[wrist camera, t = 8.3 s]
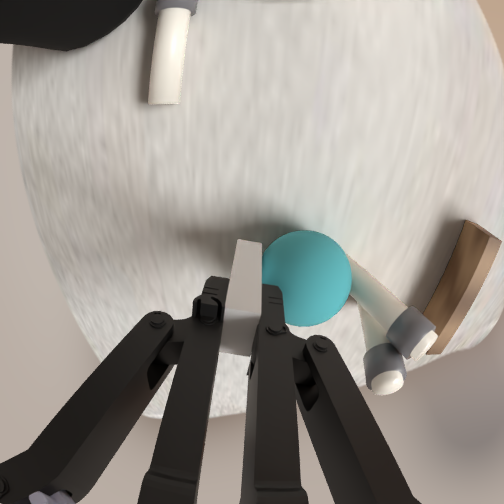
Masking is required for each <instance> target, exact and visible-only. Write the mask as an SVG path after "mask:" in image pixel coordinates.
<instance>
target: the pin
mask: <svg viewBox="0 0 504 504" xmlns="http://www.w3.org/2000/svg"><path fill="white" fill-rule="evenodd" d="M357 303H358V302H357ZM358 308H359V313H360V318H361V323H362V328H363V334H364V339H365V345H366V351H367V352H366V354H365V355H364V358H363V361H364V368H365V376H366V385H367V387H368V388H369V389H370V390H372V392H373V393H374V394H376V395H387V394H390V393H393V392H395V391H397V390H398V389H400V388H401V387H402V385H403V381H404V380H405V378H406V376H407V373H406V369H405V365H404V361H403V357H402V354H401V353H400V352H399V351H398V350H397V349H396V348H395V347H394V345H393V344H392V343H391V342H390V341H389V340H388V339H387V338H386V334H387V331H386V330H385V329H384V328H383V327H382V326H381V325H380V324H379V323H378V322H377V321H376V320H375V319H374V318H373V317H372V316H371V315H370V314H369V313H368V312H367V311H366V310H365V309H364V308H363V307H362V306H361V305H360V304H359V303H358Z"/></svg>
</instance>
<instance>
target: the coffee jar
mask: <svg viewBox="0 0 504 504" xmlns="http://www.w3.org/2000/svg"><path fill="white" fill-rule="evenodd" d="M141 2H142V0H0V43H5V44H16V45H25V46H33V47H40V48H47V49H53V50H61V51H69V50H72V49H76V48H80V47H84V46H87V45H89V44H90V43H92V42H94V41H96V40H98V39H100V38H102V37H104V36H105V35H107V34H109V33H110V32H111V31H113V30H114V29H115V28H116V27H118V26H119V25H120V24H122V23H123V22H124V21H125V20H126V19H127V18H128V17H129V16H130V15H131V14H132V13H133V12H134V11H135V10H136V9H137V8H138V6H139V5H140V3H141Z"/></svg>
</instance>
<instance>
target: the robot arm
mask: <svg viewBox="0 0 504 504" xmlns="http://www.w3.org/2000/svg"><path fill="white" fill-rule="evenodd" d="M219 352H223V353H229V354H235V355H242V356H249V357H250V355H251V360H250V364H249V368H248V372H247V375H249V376H248V392H247V408H246V424H245V425H246V426H245V440H244V456H243V470H242V471H243V472H242V486H241V499H240V503H239V504H309V503H308V496H307V493H306V491H305V490H304V489H303V488H302V486H301V479H300V457H299V440H298V424H297V411H296V401H297V403H298V406H299V409H300V412H301V414H302V417H303V420H304V422H305V425H306V428H307V430H308V433H309V436H310V438H311V441H312V444H313V447H314V449H315V452H316V455H317V457H318V460H319V462H320V465H321V468H322V471H323V473H324V476H325V478H326V481H327V484H328V486H329V489H330V492H331V494H332V497H333V500H334V502H335V504H421V503H420V502H419V501H418V500H417V499H415V498H414V497H413V495H412V493H411V491H410V489H409V487H408V484H407V482H406V480H405V478H404V476H403V475H402V472H401V470H400V468H399V466H398V464H397V462H396V460H395V458H394V456H393V454H392V452H391V450H390V448H389V446H388V444H387V442H386V440H385V438H384V436H383V435H382V433H381V430H380V428H379V426H378V425H377V423H376V421H375V419H374V417H373V415H372V413H371V411H370V410H369V407H368V406H367V404H366V402H365V400H364V398H363V396H362V394H361V392H360V391H359V389H358V387H357V385H356V383H355V381H354V379H353V377H352V376H351V374H350V372H349V370H348V368H347V366H346V364H345V363H344V361H343V359H342V357H341V355H340V354H339V352H338V350H337V348H336V346H335V345H334V343H333V342H332V341H331V340H330V339H328V338H327V337H324V336H322V335H314V336H310V337H309V338H308V339H307V340H305V339H302V338H300V337H297V336H295V335H293V334H292V333H291V332H290V331H289V328H288V326H287V325H286V324H285V315H284V305H283V293H282V291H281V289H280V288H279V287H278V286H275V285H269V284H262V243H258V242H253V241H247V240H241V239H238V240H237V245H236V250H235V255H234V261H233V266H232V271H231V276H230V279H228V278H222V277H216V276H211V277H210V278H208V279H207V280H206V282H205V285H204V288H203V291H202V295H199V296H198V297H196V298H195V299H194V300H193V309H192V316H191V317H189V318H187V319H182V320H173V318H172V317H171V316H170V315H169V314H167V313H165V312H161V311H153V312H150V313H148V314H146V315H145V316H144V317H143V318H142V319H141V320H140V321H139V322H138V323H137V324H136V325H135V327H134V328H133V329H132V330H131V331H130V332H129V333H128V334H127V335H126V336H125V337H124V338H123V339H122V341H121V342H120V343H119V344H118V345H117V346H116V347H115V348H114V349H113V350H112V352H111V353H110V354H109V355H108V356H107V357H106V358H105V359H104V360H103V362H102V363H101V364H100V365H99V366H98V367H97V368H96V369H95V371H94V372H93V373H92V374H91V375H90V376H89V377H88V378H87V380H86V381H85V382H84V383H83V384H82V385H81V387H80V388H79V389H78V390H77V391H76V392H75V393H74V395H73V396H72V397H71V398H70V399H69V401H68V402H67V403H66V404H65V405H64V406H63V407H62V409H61V410H60V411H59V412H58V413H57V415H56V416H55V417H54V418H53V419H52V421H51V422H50V423H49V424H48V425H47V427H46V428H45V429H44V430H43V431H42V433H41V434H40V436H38V438H37V439H36V440H35V441H34V443H33V444H32V445H31V446H30V448H29V449H28V450H26V451H25V452H22V453H20V454H19V455H17V456H15V457H13V458H11V459H9V460H7V461H5V462H3V463H0V503H1V504H76V503H78V502H79V501H80V500H81V499H83V498H84V497H85V496H86V495H87V494H88V493H89V491H90V490H91V489H92V488H93V486H94V485H95V483H96V482H97V480H98V479H99V477H100V476H101V474H102V473H103V471H104V470H105V468H106V467H107V465H108V464H109V462H110V461H111V459H112V458H113V456H114V455H115V453H116V452H117V450H118V449H119V447H120V446H121V444H122V443H123V441H124V440H125V438H126V437H127V435H128V434H129V432H130V431H131V429H132V428H133V426H134V425H135V423H136V422H137V420H138V419H139V417H140V416H141V414H142V413H143V411H144V410H145V408H146V407H147V405H148V404H149V402H150V401H151V399H152V398H153V396H154V395H155V393H156V392H157V390H158V389H159V387H160V386H161V384H162V383H163V381H164V380H165V378H166V377H167V375H168V374H169V373H170V371H171V370H172V368H173V366H174V365H176V364H178V365H177V368H176V371H175V375H174V378H173V382H172V385H171V389H170V392H169V396H168V400H167V403H166V407H165V411H164V414H163V418H162V422H161V426H160V430H159V434H158V438H157V441H156V445H155V449H154V453H153V457H152V462H151V465H150V469H149V470H148V471H147V472H146V474H145V476H144V478H143V482H142V485H141V490H140V495H139V498H138V503H137V504H197V495H198V487H199V480H200V473H201V466H202V459H203V452H204V446H205V438H206V432H207V425H208V419H209V413H210V406H211V400H212V393H213V387H214V381H215V375H216V368H217V362H218V355H219Z"/></svg>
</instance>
